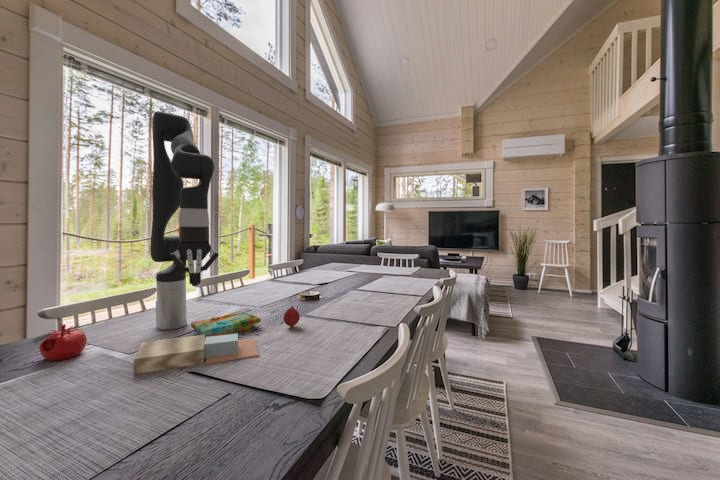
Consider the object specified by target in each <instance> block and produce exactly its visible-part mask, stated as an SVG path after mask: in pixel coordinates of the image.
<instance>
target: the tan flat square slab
mask: <svg viewBox="0 0 720 480" xmlns="http://www.w3.org/2000/svg"><path fill="white" fill-rule="evenodd" d="M259 355H260V354H259V351H258V348H257V344H256V342H255V338H253V337H252V338H244V339H238V354H233V355H225V356H217V357H210V358H205V365H206V366H207V365H212V364H218V363H224V362H230V361H237V360H244V359H250V358H257V357H259Z"/></svg>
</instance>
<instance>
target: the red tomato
mask: <svg viewBox="0 0 720 480" xmlns="http://www.w3.org/2000/svg"><path fill="white" fill-rule="evenodd" d="M72 328H75V326H69V327H68V328H67V329H66V324H62V325H60V329H61V330H54V329H52V330H49V331H48V333H49V332H51V333H49V334H48V335H45V337H46V338H45V339H44V340H43V341H41V342H40V344H39V347H38V351H39V352H40V355H41V356H42V358H44V359H45V360H47V361H50V362H51V361H53V362H54V361H64V360H68V359H71V358H75V357H77V356H79V355H80V354H81V353H82V352H83V351H84V349H86V344H87V342H88V339H87V335H86V333H85V332H84V331H82V328H81V329H80V328H76V329H72ZM52 332H53V333H52Z"/></svg>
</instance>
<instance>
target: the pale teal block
mask: <svg viewBox="0 0 720 480" xmlns="http://www.w3.org/2000/svg"><path fill="white" fill-rule="evenodd" d="M238 340H239V334H238V333H233V334H228V335H219V336H210V337H206V338H205V342H204V359H206V358H210V357H217V356H225V355H233V354H238Z"/></svg>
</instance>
